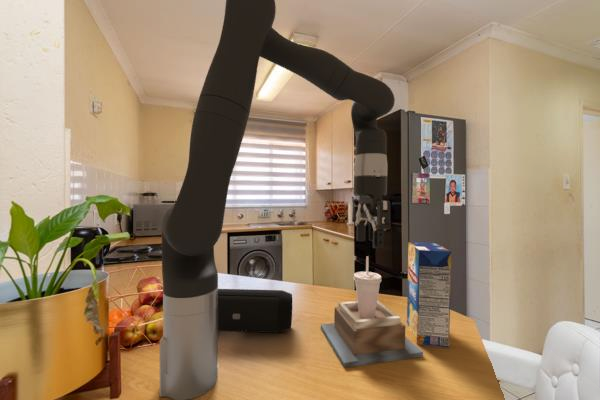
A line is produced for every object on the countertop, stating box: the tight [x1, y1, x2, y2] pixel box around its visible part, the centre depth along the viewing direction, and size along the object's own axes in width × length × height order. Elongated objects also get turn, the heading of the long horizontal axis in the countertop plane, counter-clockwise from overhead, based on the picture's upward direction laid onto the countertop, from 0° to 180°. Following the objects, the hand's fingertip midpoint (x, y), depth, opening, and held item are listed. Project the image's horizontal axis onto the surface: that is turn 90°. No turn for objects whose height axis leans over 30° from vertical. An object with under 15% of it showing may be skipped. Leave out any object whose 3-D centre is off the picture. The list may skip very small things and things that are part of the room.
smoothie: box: [353, 255, 382, 319], centre depth 63 cm, size 6×6×14 cm
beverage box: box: [406, 241, 452, 349], centre depth 66 cm, size 7×11×22 cm, turn 170°
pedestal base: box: [320, 300, 424, 368], centre depth 63 cm, size 18×16×8 cm
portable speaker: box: [218, 288, 293, 333], centre depth 68 cm, size 26×10×10 cm, turn 88°
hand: (368, 244), depth 63 cm, fingers open, 8 cm apart
